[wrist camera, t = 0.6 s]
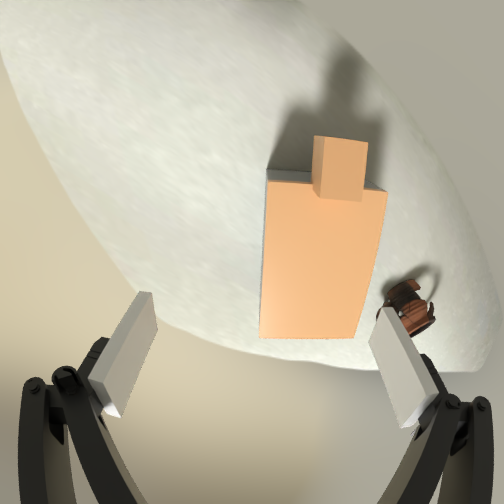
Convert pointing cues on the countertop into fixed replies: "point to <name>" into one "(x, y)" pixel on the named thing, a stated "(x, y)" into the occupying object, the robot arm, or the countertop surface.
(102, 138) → the countertop surface
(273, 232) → the lid
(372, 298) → the countertop surface
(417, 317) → the brown jagged ring
